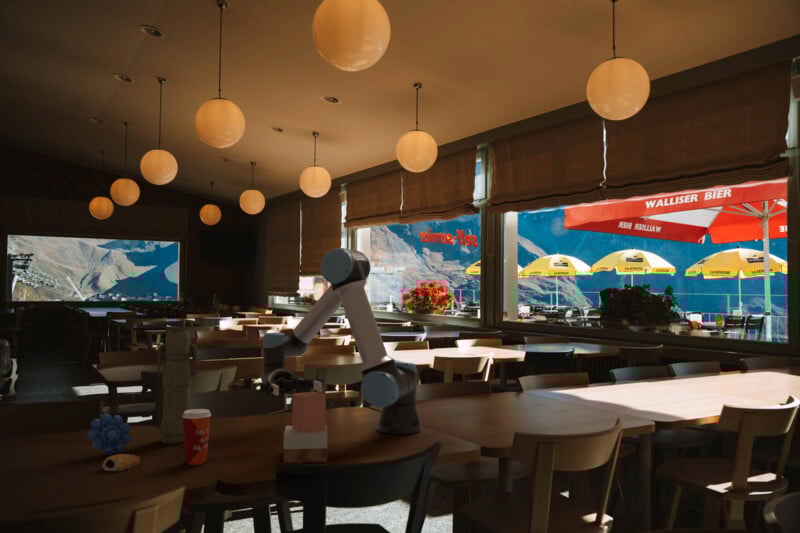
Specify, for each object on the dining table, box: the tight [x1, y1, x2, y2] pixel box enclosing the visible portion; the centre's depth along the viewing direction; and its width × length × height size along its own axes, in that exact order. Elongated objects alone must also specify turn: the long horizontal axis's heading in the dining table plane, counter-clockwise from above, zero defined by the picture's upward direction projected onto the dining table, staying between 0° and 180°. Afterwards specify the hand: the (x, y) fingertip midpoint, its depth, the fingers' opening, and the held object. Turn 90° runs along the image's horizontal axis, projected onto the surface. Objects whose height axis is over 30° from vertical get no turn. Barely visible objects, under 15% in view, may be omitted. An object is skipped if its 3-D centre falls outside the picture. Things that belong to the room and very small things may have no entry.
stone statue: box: [156, 328, 198, 445], centre depth 194 cm, size 9×12×35 cm
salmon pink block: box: [291, 391, 327, 433], centre depth 177 cm, size 7×7×10 cm
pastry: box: [101, 453, 141, 473], centre depth 164 cm, size 9×7×4 cm
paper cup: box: [182, 408, 212, 466], centre depth 169 cm, size 8×8×14 cm
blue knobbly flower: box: [87, 412, 132, 456], centre depth 175 cm, size 12×7×12 cm, turn 128°
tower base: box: [282, 438, 329, 463], centre depth 176 cm, size 12×12×4 cm
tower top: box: [283, 424, 328, 449], centre depth 176 cm, size 12×12×4 cm
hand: (299, 389), depth 186 cm, fingers open, 13 cm apart
